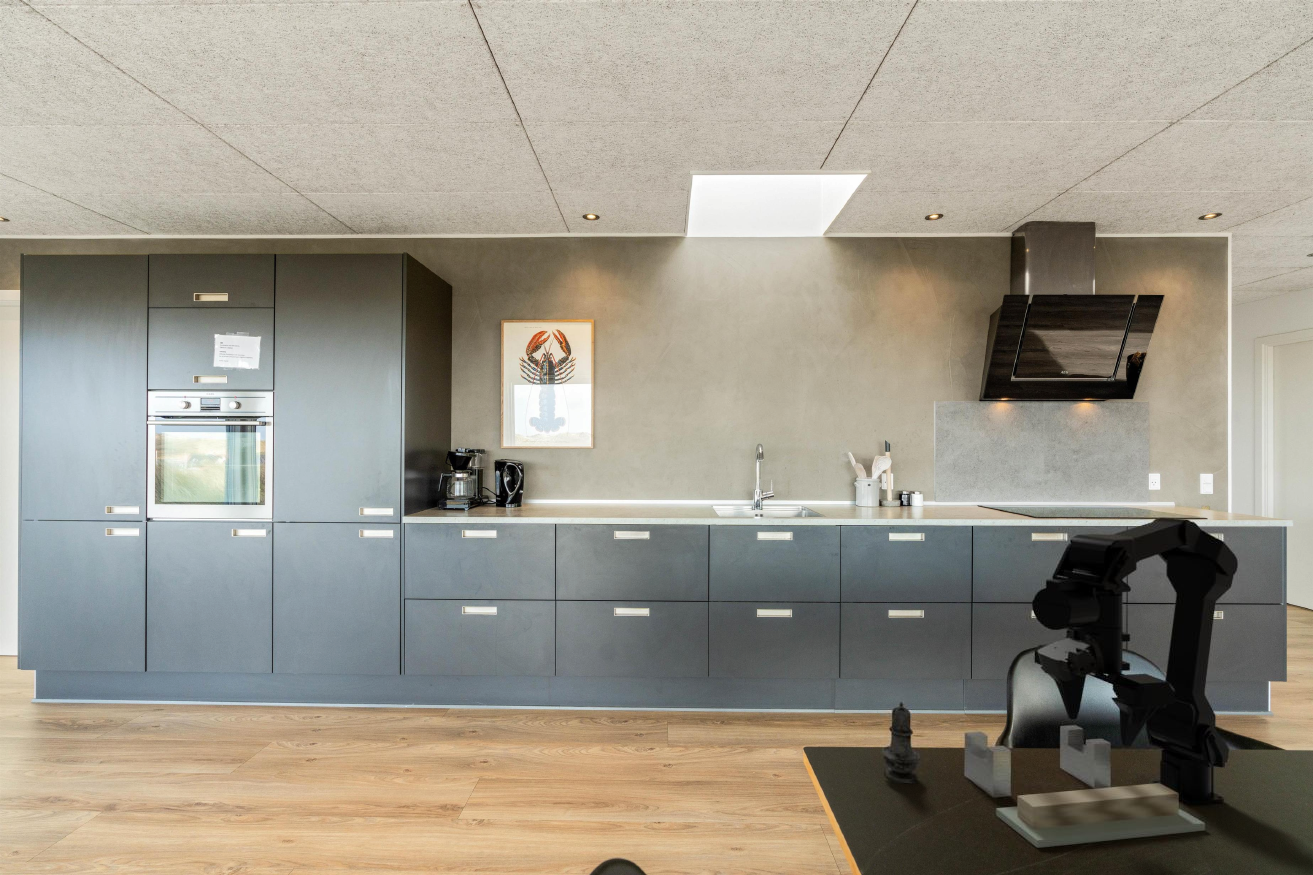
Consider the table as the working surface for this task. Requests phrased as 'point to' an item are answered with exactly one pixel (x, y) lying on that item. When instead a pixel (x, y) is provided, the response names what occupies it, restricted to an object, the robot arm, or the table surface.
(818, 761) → the table surface
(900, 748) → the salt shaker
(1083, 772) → the steel stands
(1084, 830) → the sage board
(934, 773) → the table surface
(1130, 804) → the birch rail
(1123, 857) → the table surface
